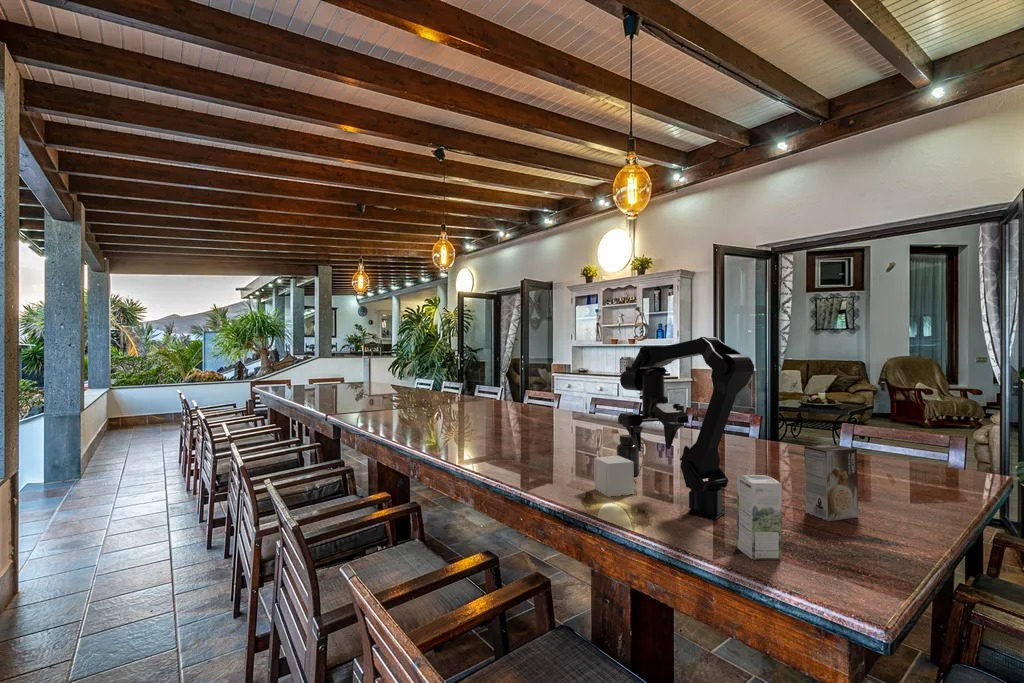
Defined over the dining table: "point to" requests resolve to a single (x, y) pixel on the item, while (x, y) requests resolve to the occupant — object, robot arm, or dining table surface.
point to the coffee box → (831, 482)
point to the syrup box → (759, 516)
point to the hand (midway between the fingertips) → (653, 450)
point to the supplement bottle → (628, 451)
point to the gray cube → (614, 476)
